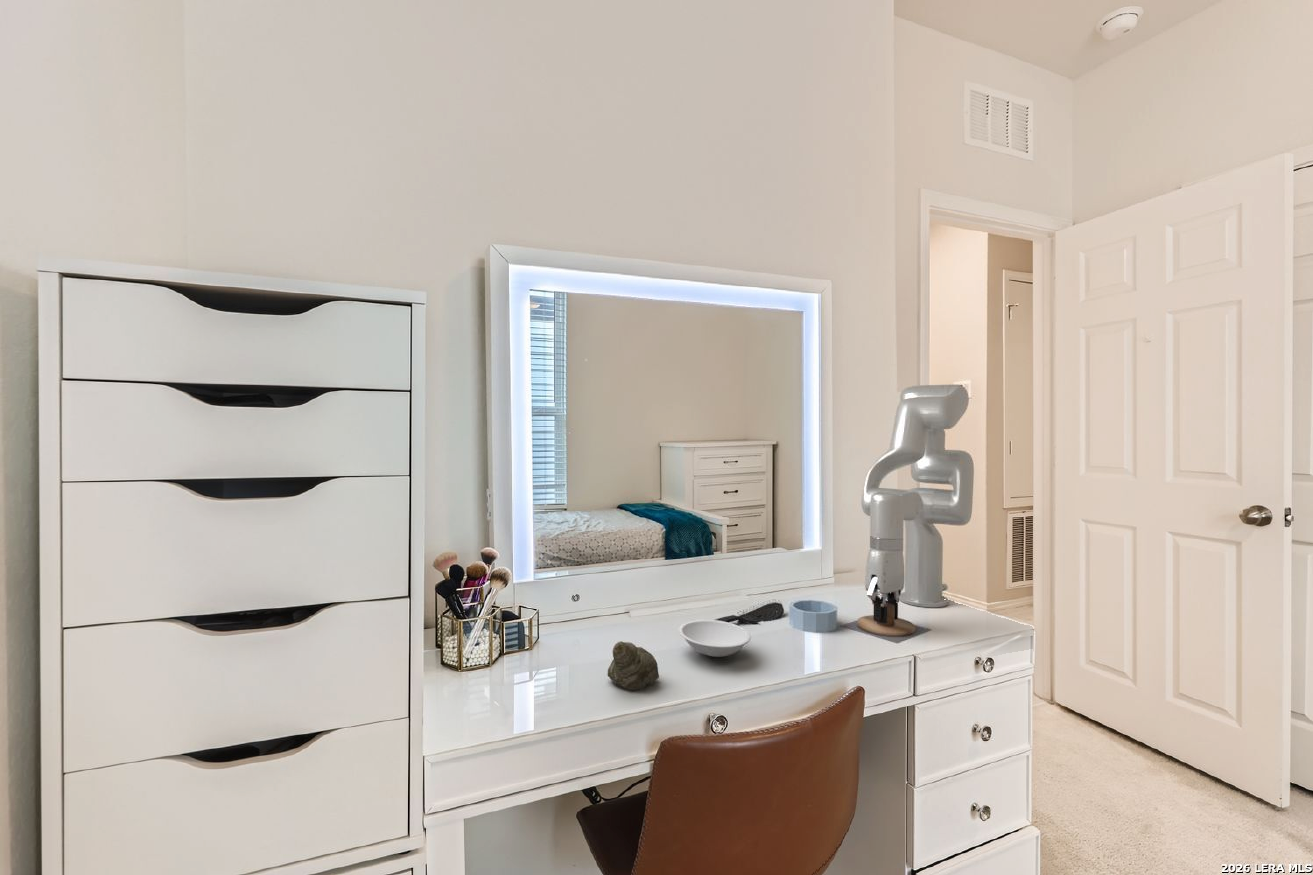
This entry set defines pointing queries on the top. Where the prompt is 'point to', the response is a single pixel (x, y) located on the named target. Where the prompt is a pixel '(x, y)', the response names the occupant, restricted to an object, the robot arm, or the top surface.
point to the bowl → (813, 616)
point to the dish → (714, 637)
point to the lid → (887, 625)
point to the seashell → (632, 666)
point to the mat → (918, 631)
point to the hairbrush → (758, 614)
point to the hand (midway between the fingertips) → (885, 619)
